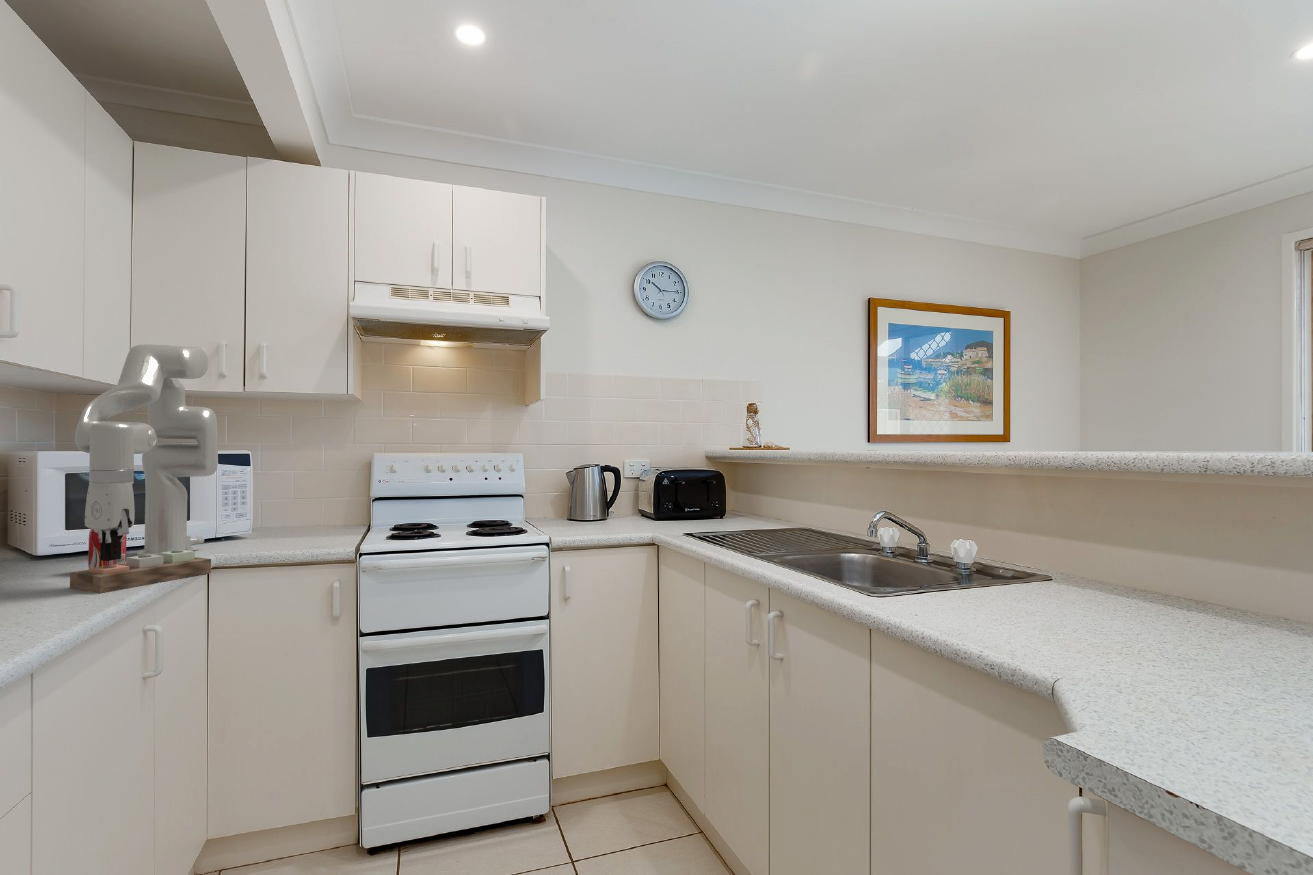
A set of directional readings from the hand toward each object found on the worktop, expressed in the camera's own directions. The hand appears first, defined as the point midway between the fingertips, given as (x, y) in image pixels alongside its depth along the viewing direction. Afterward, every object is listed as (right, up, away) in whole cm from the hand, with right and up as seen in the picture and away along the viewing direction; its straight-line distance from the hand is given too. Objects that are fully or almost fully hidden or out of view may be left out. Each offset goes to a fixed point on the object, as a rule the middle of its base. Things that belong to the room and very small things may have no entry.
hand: (110, 559), depth 141 cm
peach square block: (0, -5, -1) cm, 5 cm away
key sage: (+5, -4, +13) cm, 14 cm away
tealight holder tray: (+3, -6, +6) cm, 9 cm away
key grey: (+3, -4, +6) cm, 7 cm away
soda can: (-14, -6, +15) cm, 22 cm away
